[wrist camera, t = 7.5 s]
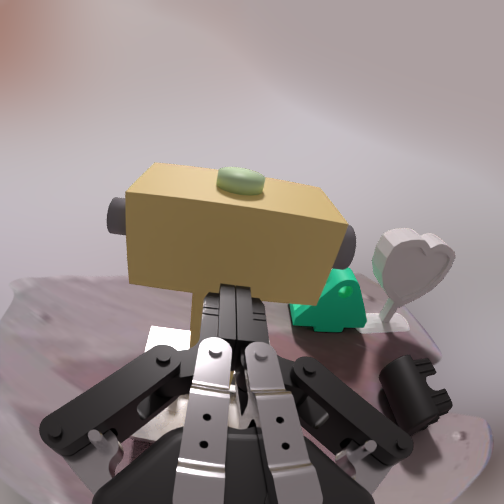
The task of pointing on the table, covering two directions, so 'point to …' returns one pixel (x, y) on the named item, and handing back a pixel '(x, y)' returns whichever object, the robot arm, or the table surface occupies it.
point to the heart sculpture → (406, 274)
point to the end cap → (413, 394)
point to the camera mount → (334, 305)
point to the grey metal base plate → (177, 410)
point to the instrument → (230, 235)
